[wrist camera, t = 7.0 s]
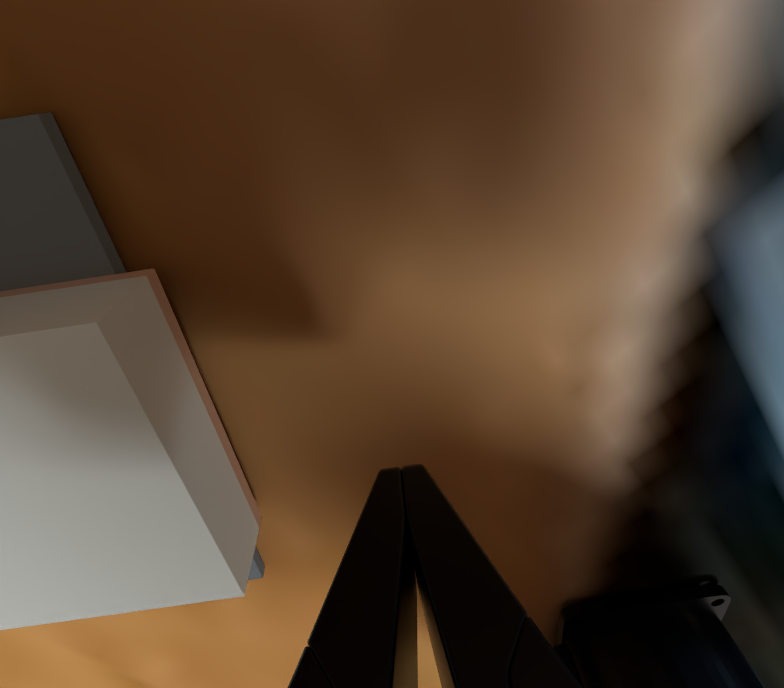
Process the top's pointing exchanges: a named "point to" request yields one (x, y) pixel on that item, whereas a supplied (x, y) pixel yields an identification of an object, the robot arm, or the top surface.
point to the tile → (111, 459)
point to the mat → (51, 217)
